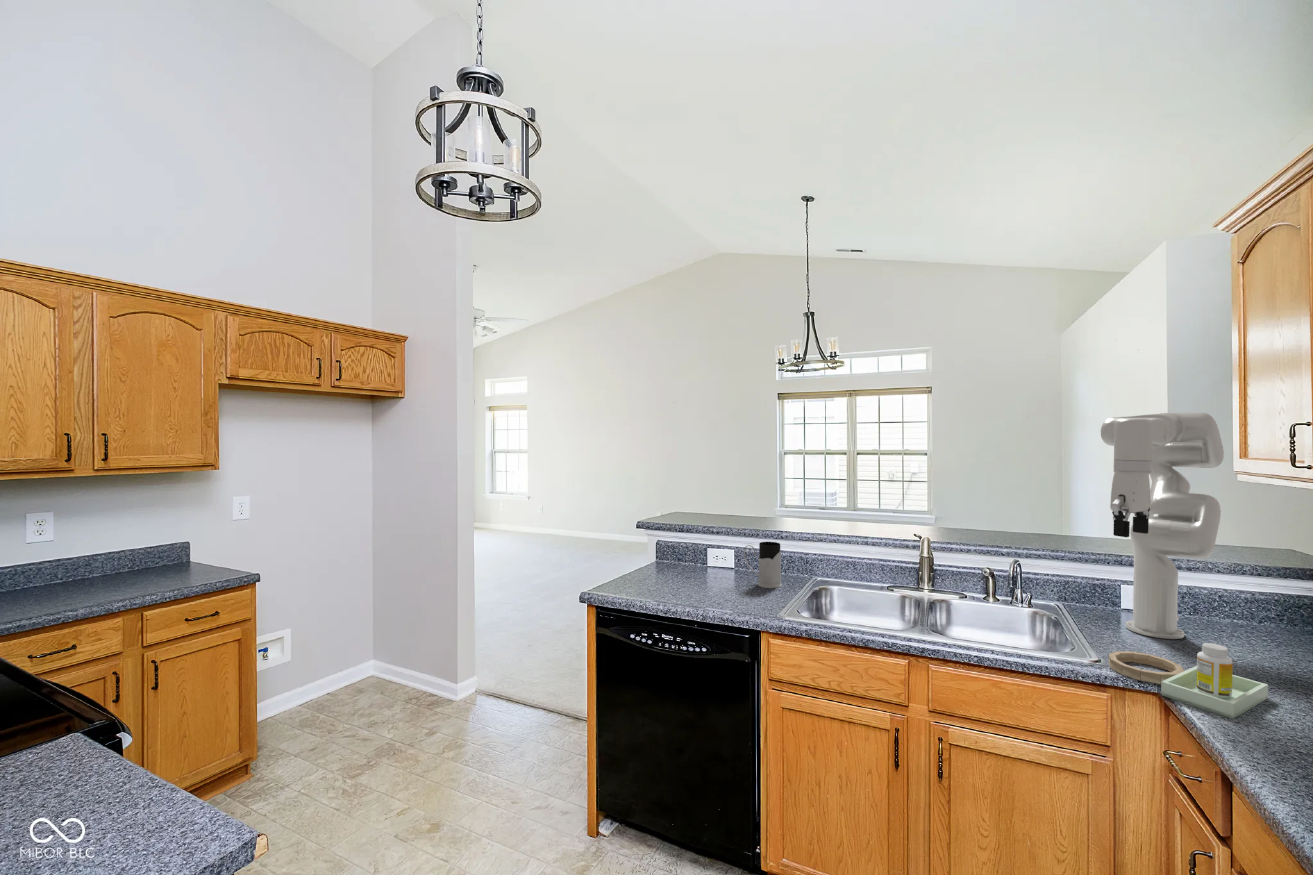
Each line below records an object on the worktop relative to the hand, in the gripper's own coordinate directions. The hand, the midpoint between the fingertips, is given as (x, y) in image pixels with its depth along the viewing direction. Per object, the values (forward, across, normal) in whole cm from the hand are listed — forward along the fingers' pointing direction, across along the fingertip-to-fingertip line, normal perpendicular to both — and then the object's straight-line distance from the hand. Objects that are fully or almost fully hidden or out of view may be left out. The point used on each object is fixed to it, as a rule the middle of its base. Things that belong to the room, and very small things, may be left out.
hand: (1131, 534), depth 150 cm
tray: (+30, +12, +21) cm, 39 cm away
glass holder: (+31, +41, -96) cm, 109 cm away
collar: (+30, +10, +8) cm, 33 cm away
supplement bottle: (+30, +12, +21) cm, 38 cm away
